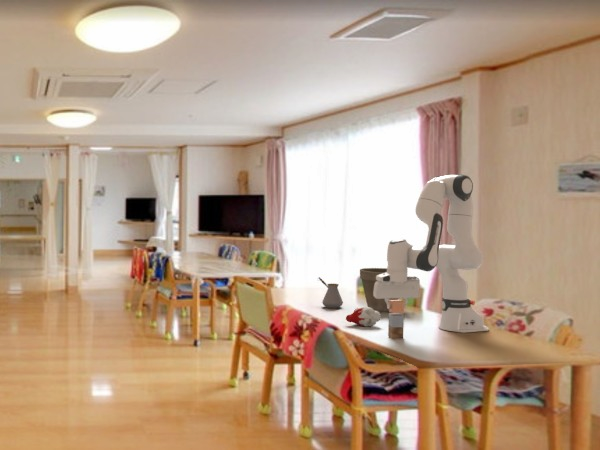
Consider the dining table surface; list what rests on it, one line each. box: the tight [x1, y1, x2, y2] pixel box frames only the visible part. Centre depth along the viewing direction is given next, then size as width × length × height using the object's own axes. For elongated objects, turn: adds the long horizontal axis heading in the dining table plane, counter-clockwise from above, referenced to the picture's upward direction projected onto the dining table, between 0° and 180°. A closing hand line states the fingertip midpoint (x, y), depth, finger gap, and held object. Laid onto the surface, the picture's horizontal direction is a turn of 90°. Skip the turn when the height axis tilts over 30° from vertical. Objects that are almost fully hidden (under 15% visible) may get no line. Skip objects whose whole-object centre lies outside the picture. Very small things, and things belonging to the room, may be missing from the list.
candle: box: [345, 306, 381, 327], centre depth 294 cm, size 9×11×15 cm
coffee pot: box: [317, 277, 344, 309], centre depth 347 cm, size 21×12×15 cm, turn 29°
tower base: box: [387, 324, 404, 340], centre depth 269 cm, size 5×5×5 cm
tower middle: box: [388, 313, 405, 328], centre depth 269 cm, size 5×5×5 cm
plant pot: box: [359, 267, 399, 312], centre depth 339 cm, size 25×25×22 cm
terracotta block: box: [388, 299, 405, 314], centre depth 269 cm, size 5×5×5 cm
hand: (396, 308), depth 269 cm, fingers closed on terracotta block, 5 cm apart
